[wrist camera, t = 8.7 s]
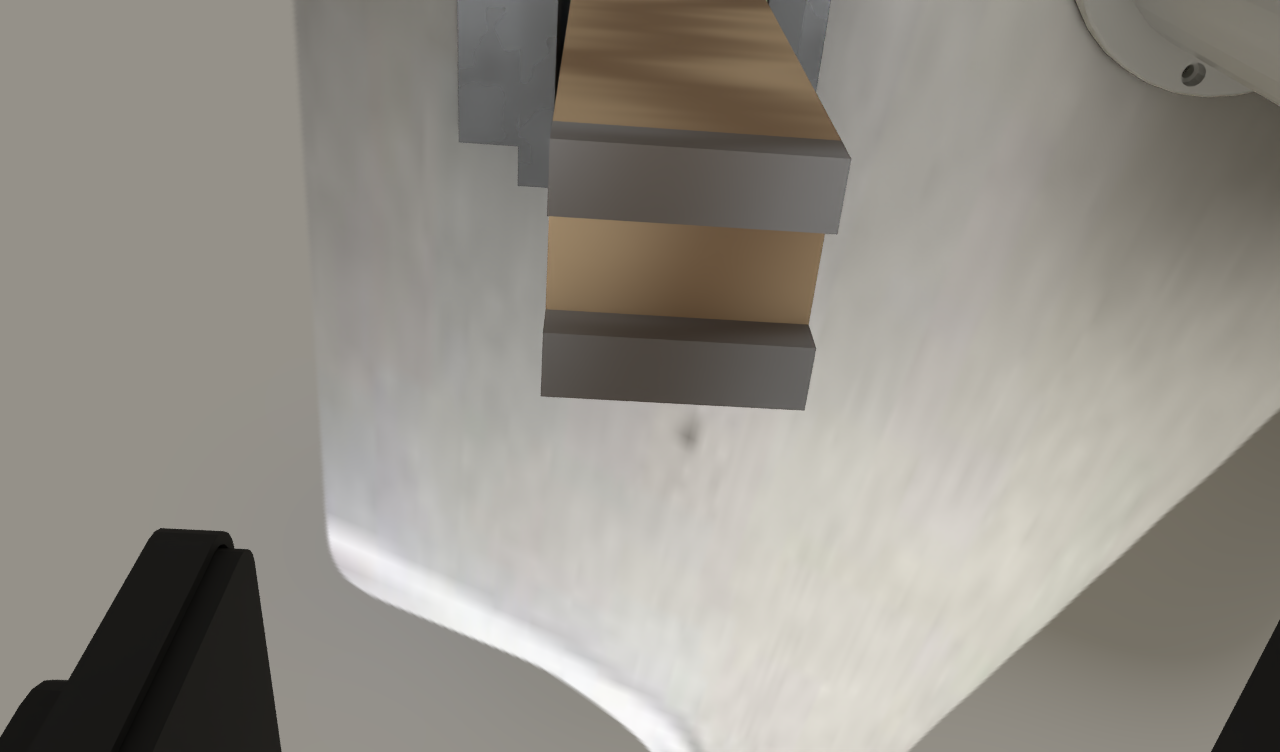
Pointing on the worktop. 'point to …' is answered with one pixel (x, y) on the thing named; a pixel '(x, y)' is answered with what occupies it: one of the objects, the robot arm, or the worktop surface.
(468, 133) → the stand
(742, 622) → the worktop surface
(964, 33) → the worktop surface
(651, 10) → the column
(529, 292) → the worktop surface
